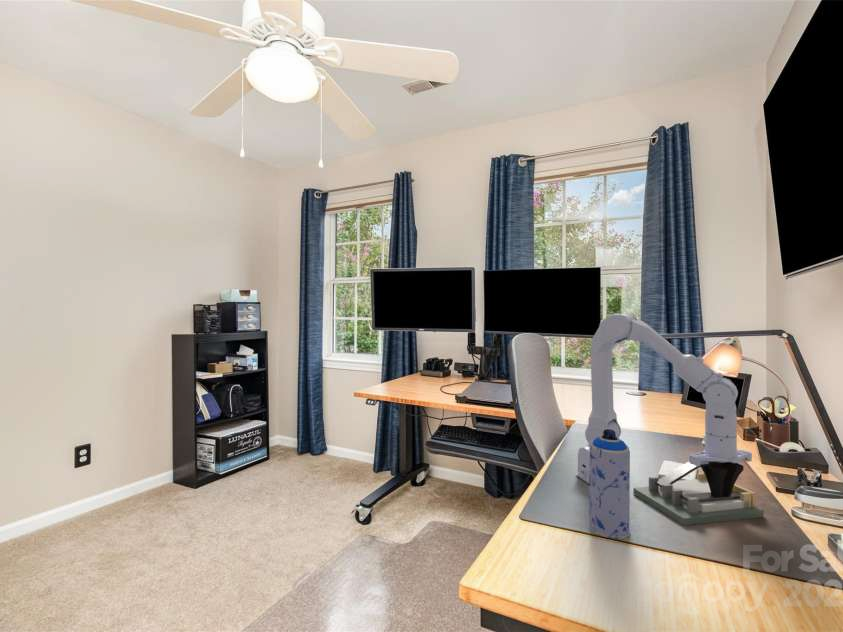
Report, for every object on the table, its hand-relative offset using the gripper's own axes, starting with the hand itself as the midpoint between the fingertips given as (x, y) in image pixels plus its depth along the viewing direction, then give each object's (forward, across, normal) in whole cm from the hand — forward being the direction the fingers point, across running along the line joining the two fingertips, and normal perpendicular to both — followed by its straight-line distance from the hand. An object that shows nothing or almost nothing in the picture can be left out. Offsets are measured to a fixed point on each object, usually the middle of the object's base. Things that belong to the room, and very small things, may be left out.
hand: (720, 494), depth 91 cm
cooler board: (+4, -3, +4) cm, 6 cm away
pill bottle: (+4, +23, +24) cm, 33 cm away
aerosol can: (+4, -29, -2) cm, 29 cm away
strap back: (-3, -3, +7) cm, 8 cm away
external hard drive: (+4, +8, +20) cm, 22 cm away
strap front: (+1, -2, 0) cm, 2 cm away
